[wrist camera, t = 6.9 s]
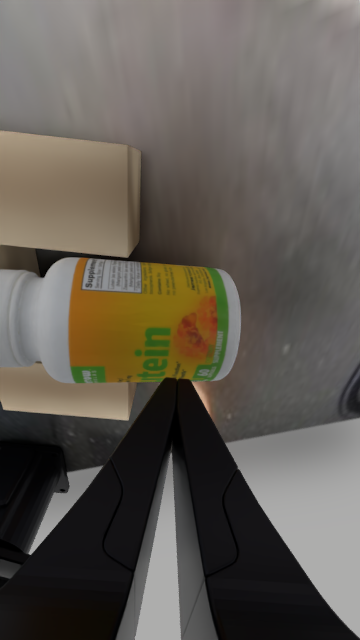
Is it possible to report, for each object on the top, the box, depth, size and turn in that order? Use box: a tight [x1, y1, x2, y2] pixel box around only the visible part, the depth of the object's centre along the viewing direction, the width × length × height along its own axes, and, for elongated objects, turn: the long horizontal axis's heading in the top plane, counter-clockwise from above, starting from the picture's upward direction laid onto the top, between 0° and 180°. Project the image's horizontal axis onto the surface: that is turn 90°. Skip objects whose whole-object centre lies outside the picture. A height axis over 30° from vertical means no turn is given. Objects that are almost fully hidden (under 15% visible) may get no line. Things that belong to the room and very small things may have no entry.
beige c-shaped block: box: [0, 130, 141, 420], centre depth 13 cm, size 14×8×3 cm, turn 174°
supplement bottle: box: [0, 257, 241, 383], centre depth 12 cm, size 5×5×10 cm
